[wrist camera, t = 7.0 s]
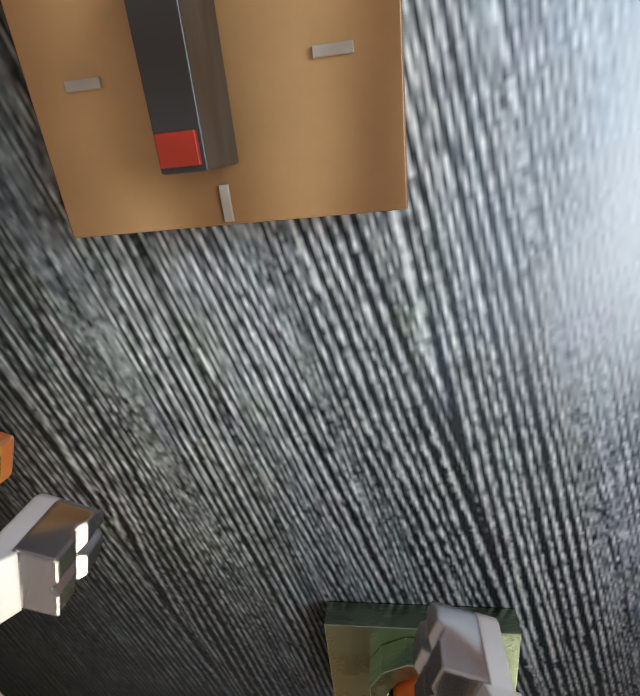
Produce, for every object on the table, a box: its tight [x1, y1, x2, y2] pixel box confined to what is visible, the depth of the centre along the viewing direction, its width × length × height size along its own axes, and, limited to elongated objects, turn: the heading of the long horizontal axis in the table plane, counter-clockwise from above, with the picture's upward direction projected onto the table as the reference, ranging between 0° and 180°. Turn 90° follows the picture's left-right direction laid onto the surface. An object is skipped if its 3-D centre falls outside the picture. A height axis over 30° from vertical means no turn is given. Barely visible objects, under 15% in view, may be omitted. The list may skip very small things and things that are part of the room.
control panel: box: [0, 0, 408, 238], centre depth 18 cm, size 14×11×3 cm
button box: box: [324, 601, 521, 696], centre depth 31 cm, size 12×8×4 cm, turn 96°
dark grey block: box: [124, 0, 239, 175], centre depth 15 cm, size 6×2×4 cm, turn 6°
